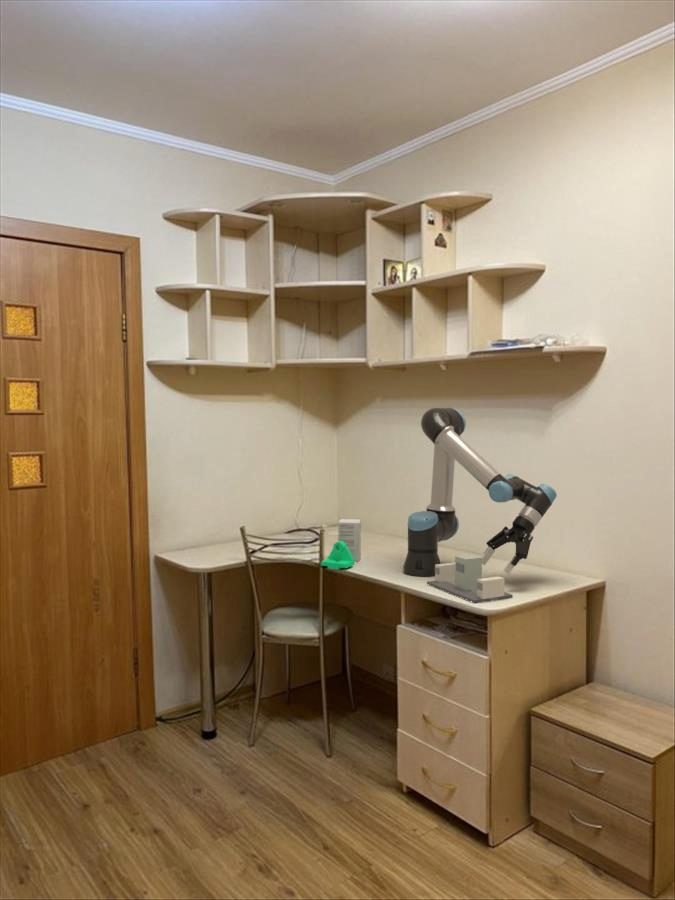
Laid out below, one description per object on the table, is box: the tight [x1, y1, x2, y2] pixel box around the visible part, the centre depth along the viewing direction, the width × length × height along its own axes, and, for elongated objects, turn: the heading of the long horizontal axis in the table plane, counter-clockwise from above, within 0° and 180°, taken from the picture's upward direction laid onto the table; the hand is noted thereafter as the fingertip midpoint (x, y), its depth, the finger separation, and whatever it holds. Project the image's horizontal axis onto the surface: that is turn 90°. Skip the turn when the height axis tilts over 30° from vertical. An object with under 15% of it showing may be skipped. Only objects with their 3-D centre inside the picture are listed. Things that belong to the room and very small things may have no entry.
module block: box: [454, 554, 483, 591], centre depth 241 cm, size 6×7×11 cm
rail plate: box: [426, 561, 514, 604], centre depth 241 cm, size 28×16×7 cm, turn 26°
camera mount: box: [320, 541, 356, 570], centre depth 279 cm, size 12×8×10 cm, turn 63°
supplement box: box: [337, 518, 362, 562], centre depth 293 cm, size 10×9×17 cm
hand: (493, 567), depth 246 cm, fingers open, 13 cm apart
